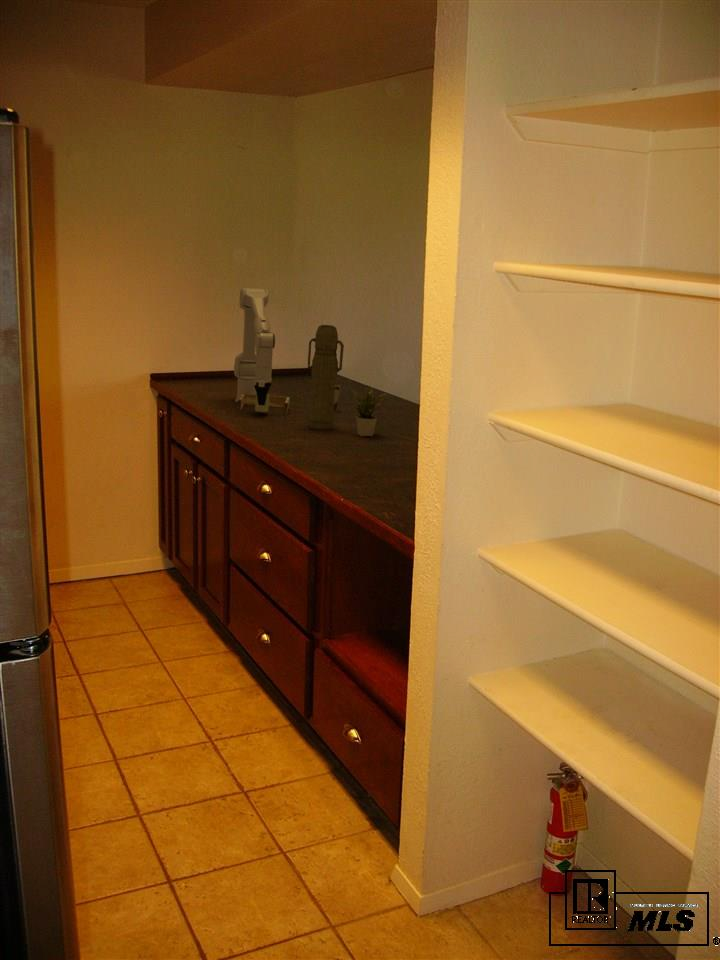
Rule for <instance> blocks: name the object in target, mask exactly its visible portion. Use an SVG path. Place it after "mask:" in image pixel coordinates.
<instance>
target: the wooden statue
mask: <svg viewBox="0 0 720 960" xmlns="http://www.w3.org/2000/svg"><path fill="white" fill-rule="evenodd" d="M312 342H314V348H315V350H314V351H315V352H314V354H313V358H312V363H311V354H312V351H311V350H312ZM338 344H339V346H340V351H339V352H340V354H339V362H338V358H337V356H338V354H337V350H338ZM344 348H345V344H344V343H343V342H342V340H339V334H338V330H337V327H335V326H334V325H330V324H320V325H318V327H317V330H316V332H315V337H314V338H311V339H310V340H309V342H308V353H307V355H308V357H307V369H308V370H310V371H311V375H310V376H311V378H312V381H311V382H312V383H311V384H312V385H311V386H312V387H311V398H310V399H311V401H310V406H309V407H310V408H309V411H308V428H310V429H312V430H315V431H316V430H317V431H331V430H333V429H334V423H335V418H336V417H335V415H336V412H335V411H334V395H335V385H336V380H337V379H338V373H339V372H340V371H342V369H343V359H344Z"/></svg>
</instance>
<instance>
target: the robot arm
mask: <svg viewBox="0 0 720 960" xmlns="http://www.w3.org/2000/svg"><path fill="white" fill-rule="evenodd" d="M268 303H269V291H268V289H267V288H252V287H242V288H241V289H240V292H239V308H240V309H242V310H243V313H244V315H243V316H244V317H243V338H242V341H243V342H242V352H241V353H239V354H238V355H236V357H235V358H234V359H235V360H234V364H233V374H234V376H235V377H236V378H237V392H236V393H237V394H236V395H237V396H236V398H235V400H234V402H236V403H238V399H239V398H240V397H241V395H242V394H254V395H256V393H257V398H258V404H259V405H265V401H266V396H267V393H269V391H270V388H271V386H272V380H273V379H272V373H273V372H272V369H273V354H274V353H273V351H274V349H275V347H276V335H275V332H274V331H273V330H272V328H271V324H270V320H269V318H267V317H266V312H265V311H266V310H265V308H266V307H267V305H268Z"/></svg>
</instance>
